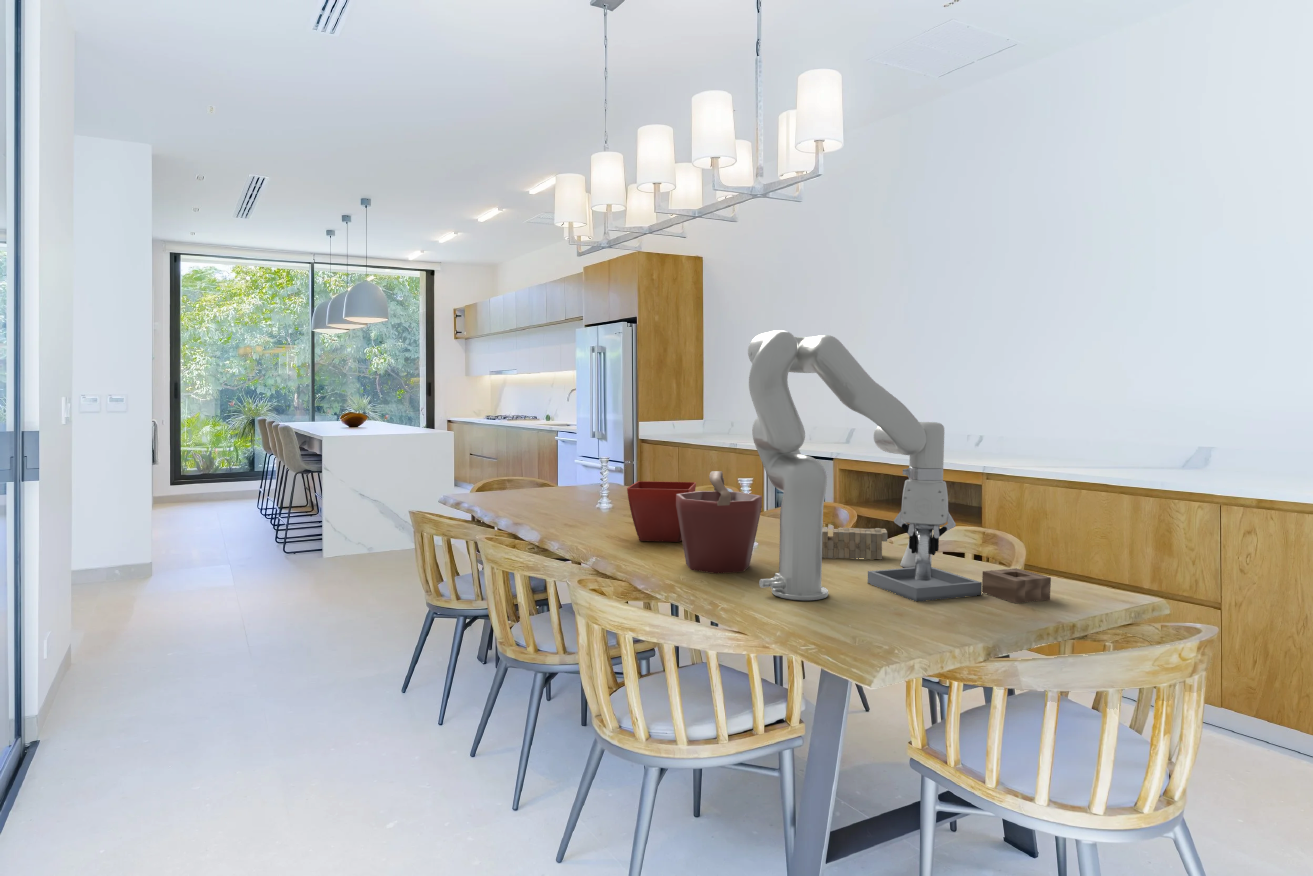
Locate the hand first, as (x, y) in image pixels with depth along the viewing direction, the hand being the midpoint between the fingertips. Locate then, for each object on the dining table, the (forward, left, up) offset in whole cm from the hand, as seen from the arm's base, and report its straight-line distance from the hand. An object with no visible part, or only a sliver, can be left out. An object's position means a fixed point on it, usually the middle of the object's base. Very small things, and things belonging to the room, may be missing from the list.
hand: (923, 552), depth 188 cm
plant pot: (-35, +80, -9) cm, 88 cm away
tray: (0, 0, -9) cm, 9 cm away
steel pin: (0, 0, -6) cm, 6 cm away
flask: (+14, +21, -9) cm, 27 cm away
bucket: (-36, +38, -9) cm, 53 cm away
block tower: (+2, +40, -9) cm, 42 cm away
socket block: (+16, -12, -9) cm, 22 cm away
